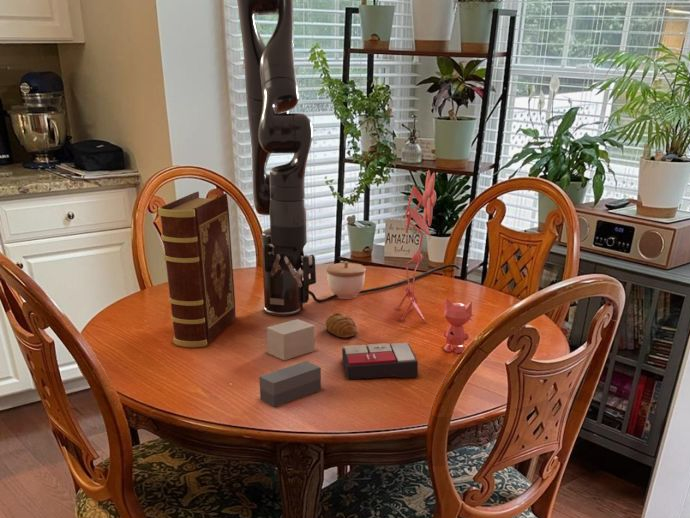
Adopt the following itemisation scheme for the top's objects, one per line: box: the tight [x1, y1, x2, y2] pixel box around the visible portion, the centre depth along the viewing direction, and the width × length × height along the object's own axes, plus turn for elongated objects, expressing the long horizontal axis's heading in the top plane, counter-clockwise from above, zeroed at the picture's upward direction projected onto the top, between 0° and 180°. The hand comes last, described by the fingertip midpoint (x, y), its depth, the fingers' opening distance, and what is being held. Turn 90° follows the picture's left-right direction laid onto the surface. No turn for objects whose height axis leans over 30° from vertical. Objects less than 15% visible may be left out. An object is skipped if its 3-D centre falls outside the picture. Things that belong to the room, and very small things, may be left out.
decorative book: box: [157, 191, 236, 349], centre depth 164 cm, size 22×8×30 cm, turn 168°
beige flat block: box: [266, 318, 316, 343], centre depth 160 cm, size 9×6×2 cm, turn 135°
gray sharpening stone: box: [258, 360, 322, 408], centre depth 141 cm, size 12×4×5 cm, turn 135°
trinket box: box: [326, 260, 366, 300], centre depth 197 cm, size 11×11×9 cm
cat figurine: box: [443, 298, 474, 354], centre depth 162 cm, size 7×7×12 cm
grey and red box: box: [341, 342, 419, 380], centre depth 154 cm, size 11×4×15 cm
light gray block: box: [266, 334, 316, 361], centre depth 161 cm, size 9×6×4 cm, turn 134°
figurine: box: [396, 169, 444, 329], centre depth 177 cm, size 15×26×35 cm, turn 2°
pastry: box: [325, 312, 358, 338], centre depth 173 cm, size 9×7×4 cm
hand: (290, 298), depth 156 cm, fingers open, 8 cm apart
